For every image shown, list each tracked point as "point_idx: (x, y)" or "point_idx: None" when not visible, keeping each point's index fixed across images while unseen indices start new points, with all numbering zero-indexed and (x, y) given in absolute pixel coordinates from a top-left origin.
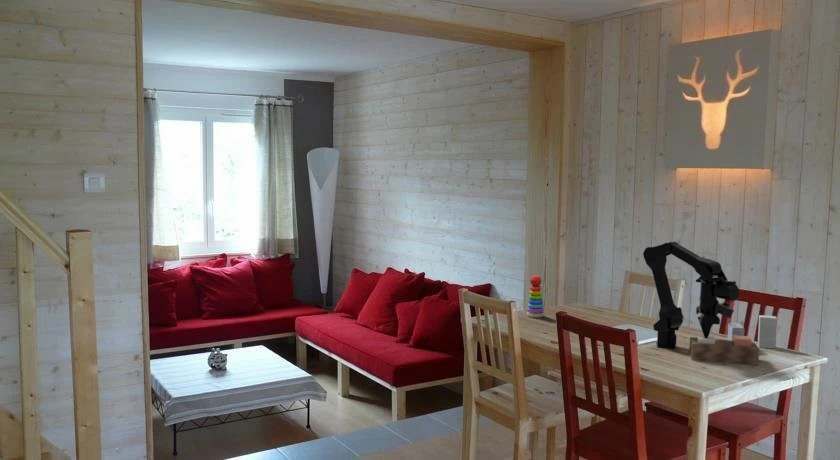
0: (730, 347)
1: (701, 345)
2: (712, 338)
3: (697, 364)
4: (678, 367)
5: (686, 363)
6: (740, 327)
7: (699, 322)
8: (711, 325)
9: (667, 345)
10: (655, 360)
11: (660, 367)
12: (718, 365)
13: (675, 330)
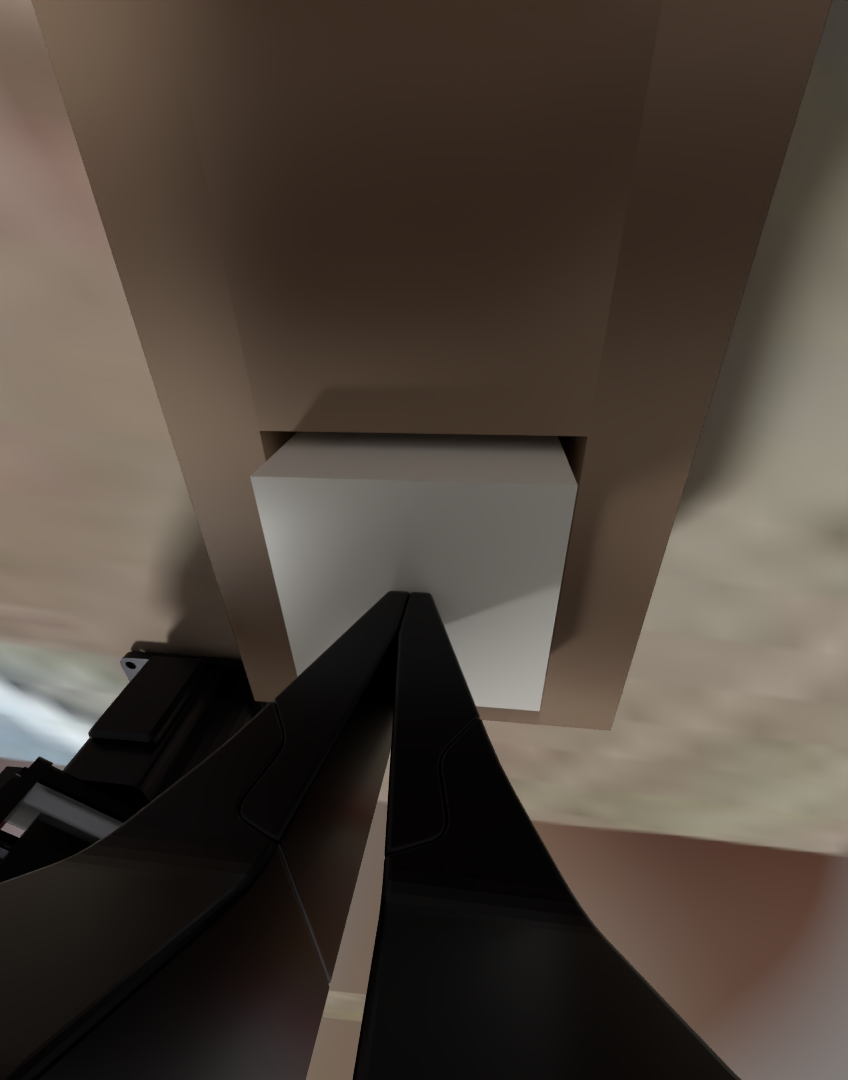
0: (788, 94)
1: (631, 640)
2: (422, 514)
3: (732, 569)
4: (832, 710)
5: (700, 645)
6: None
7: (314, 1028)
8: (575, 912)
9: (248, 713)
10: (631, 793)
11: (821, 797)
12: (776, 356)
13: (79, 780)
